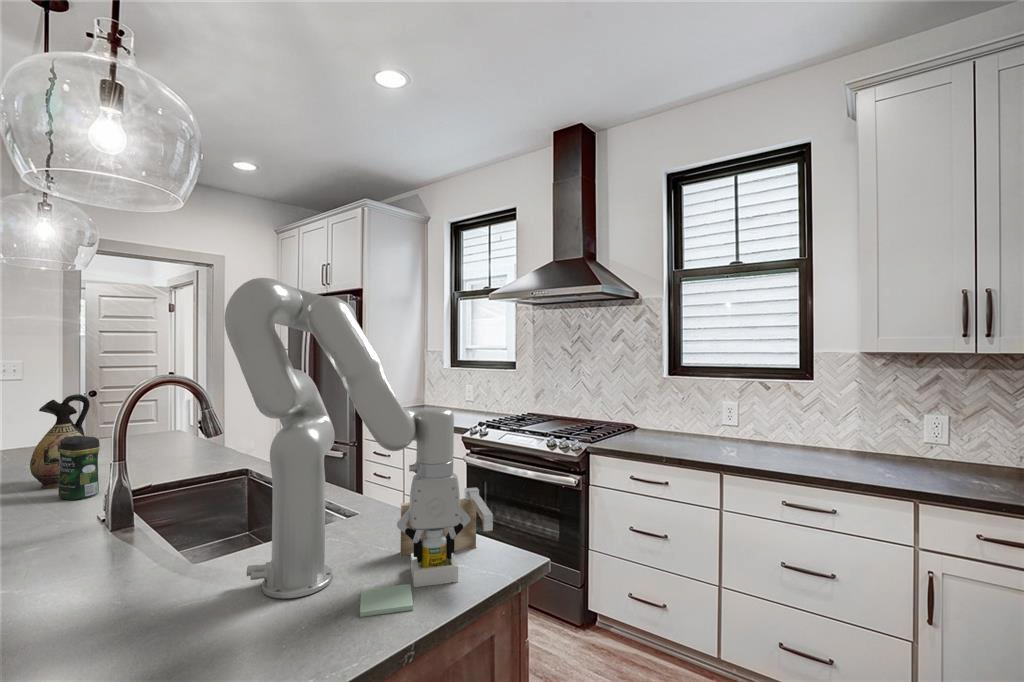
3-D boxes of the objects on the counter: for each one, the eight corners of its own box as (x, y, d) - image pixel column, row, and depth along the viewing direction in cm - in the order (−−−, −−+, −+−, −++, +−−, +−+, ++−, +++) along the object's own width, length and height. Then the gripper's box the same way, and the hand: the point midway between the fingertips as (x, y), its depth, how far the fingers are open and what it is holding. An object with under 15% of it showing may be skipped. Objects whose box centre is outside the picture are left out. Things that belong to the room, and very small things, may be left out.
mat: (359, 616, 83) (359, 612, 83) (361, 594, 91) (361, 589, 91) (413, 609, 85) (413, 605, 85) (410, 588, 93) (410, 584, 93)
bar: (480, 531, 96) (481, 514, 96) (464, 502, 114) (464, 488, 114) (495, 530, 97) (495, 513, 97) (476, 501, 115) (477, 487, 115)
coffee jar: (52, 498, 146) (54, 437, 146) (82, 491, 153) (84, 432, 154) (73, 502, 143) (75, 439, 143) (103, 494, 150) (105, 434, 151)
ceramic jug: (31, 494, 150) (33, 397, 150) (27, 485, 160) (30, 394, 160) (102, 483, 162) (104, 394, 163) (94, 475, 173) (97, 391, 173)
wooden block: (400, 555, 108) (401, 505, 108) (400, 552, 110) (401, 503, 110) (475, 547, 112) (476, 500, 112) (474, 544, 114) (474, 497, 114)
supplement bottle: (440, 566, 102) (440, 521, 103) (451, 576, 98) (452, 528, 98) (416, 572, 99) (416, 525, 100) (426, 583, 95) (427, 534, 95)
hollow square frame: (413, 587, 93) (414, 571, 93) (410, 567, 102) (410, 553, 102) (458, 581, 96) (458, 566, 96) (451, 563, 104) (451, 549, 104)
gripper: (392, 476, 93) (391, 571, 93) (479, 471, 98) (478, 561, 97) (391, 467, 100) (390, 555, 100) (472, 462, 105) (471, 546, 105)
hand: (433, 557), depth 99 cm, fingers closed on supplement bottle, 5 cm apart
